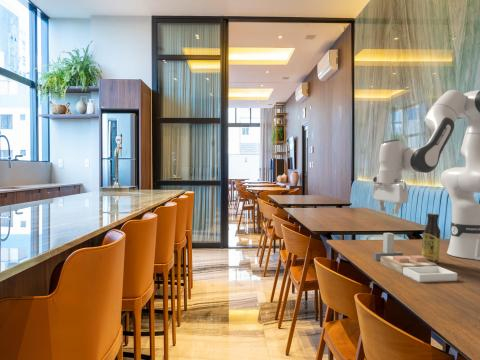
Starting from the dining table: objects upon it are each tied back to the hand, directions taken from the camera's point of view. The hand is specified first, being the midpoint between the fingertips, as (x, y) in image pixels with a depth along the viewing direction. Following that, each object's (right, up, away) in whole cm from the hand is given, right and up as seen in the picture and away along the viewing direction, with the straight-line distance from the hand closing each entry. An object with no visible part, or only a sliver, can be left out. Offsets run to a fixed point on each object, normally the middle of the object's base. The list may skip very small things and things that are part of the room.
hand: (388, 212), depth 148 cm
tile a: (+6, -17, -13) cm, 22 cm away
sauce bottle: (+16, -20, -3) cm, 26 cm away
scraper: (0, -20, +1) cm, 20 cm away
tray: (+4, -20, -24) cm, 32 cm away
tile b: (-1, -17, -14) cm, 22 cm away
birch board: (+2, -20, -12) cm, 24 cm away
